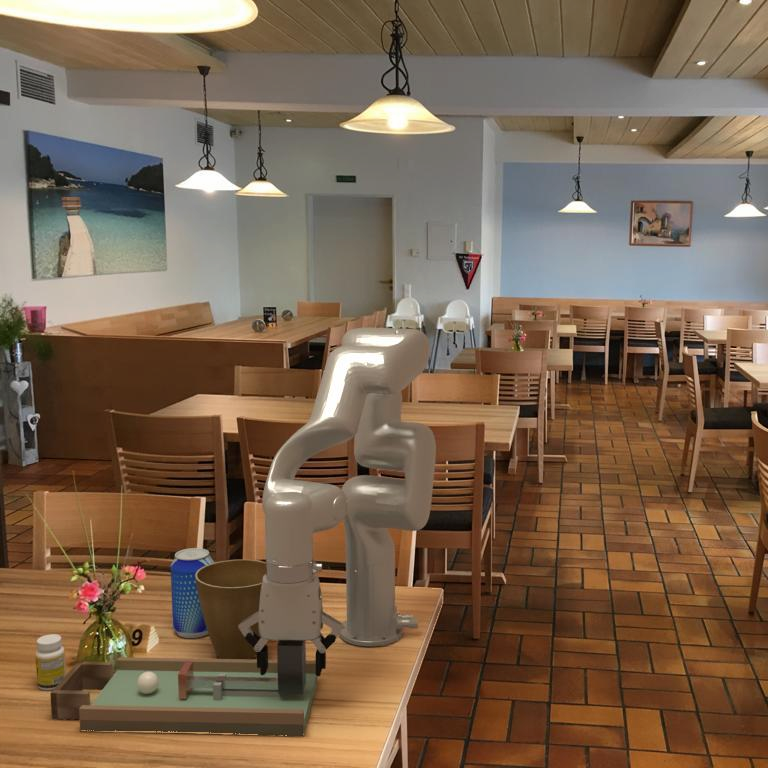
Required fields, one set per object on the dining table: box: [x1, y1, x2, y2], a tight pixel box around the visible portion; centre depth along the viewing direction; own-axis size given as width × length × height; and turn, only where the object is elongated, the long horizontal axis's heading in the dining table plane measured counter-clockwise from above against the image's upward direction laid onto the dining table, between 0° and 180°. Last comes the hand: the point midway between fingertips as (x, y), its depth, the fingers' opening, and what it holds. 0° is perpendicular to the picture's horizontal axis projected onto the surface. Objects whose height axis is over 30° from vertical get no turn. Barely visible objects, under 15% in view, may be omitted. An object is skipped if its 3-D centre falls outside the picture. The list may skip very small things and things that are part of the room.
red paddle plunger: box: [178, 640, 307, 699], centre depth 144 cm, size 20×5×9 cm, turn 87°
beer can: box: [170, 547, 215, 639], centre depth 173 cm, size 8×8×16 cm
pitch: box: [79, 656, 319, 737], centre depth 145 cm, size 35×18×5 cm, turn 87°
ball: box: [137, 672, 159, 694], centre depth 145 cm, size 4×4×4 cm
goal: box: [50, 661, 114, 721], centre depth 146 cm, size 6×11×4 cm, turn 177°
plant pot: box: [195, 559, 266, 660], centre depth 163 cm, size 15×15×16 cm
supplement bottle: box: [35, 633, 67, 691], centre depth 152 cm, size 5×5×8 cm
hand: (291, 671), depth 144 cm, fingers open, 8 cm apart
